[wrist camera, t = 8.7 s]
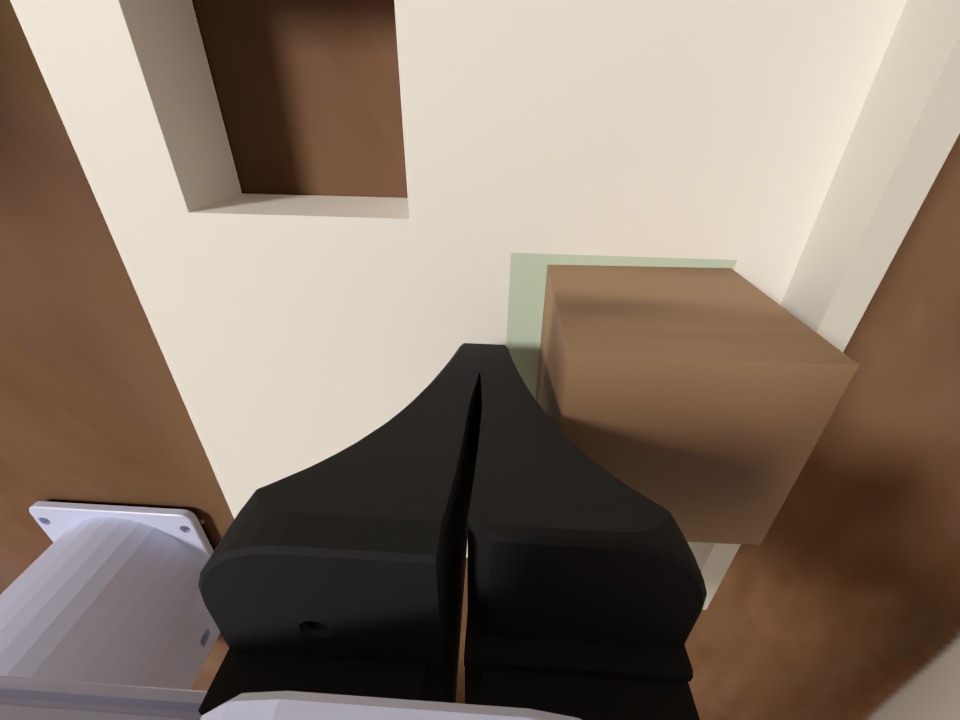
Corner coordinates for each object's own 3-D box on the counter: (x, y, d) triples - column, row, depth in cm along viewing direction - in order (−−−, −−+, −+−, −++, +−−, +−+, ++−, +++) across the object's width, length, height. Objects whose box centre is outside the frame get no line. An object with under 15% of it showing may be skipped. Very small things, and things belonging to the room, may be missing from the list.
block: (684, 412, 13) (760, 545, 9) (534, 407, 13) (546, 535, 9) (731, 268, 11) (859, 364, 7) (547, 264, 11) (569, 356, 7)
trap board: (670, 518, 19) (706, 609, 16) (273, 495, 20) (224, 578, 16) (918, -143, 9) (1191, -304, 5) (55, -139, 9) (-210, -279, 6)
